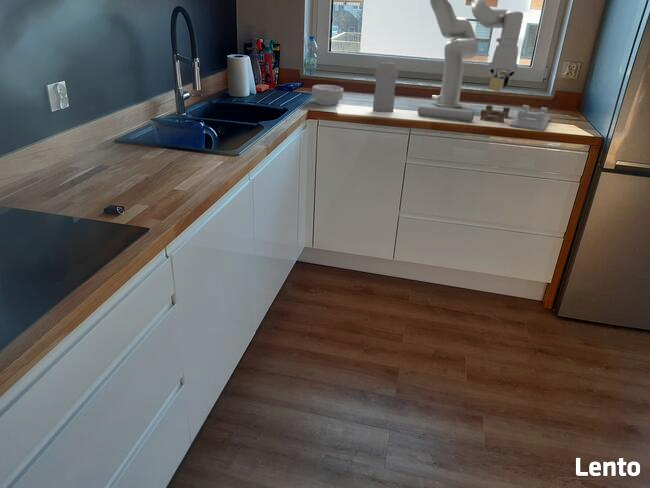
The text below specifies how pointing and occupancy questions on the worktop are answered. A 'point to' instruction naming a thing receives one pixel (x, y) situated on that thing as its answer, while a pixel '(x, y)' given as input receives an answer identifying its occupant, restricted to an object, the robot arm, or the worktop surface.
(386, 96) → the tall pale column
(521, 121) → the v block stand
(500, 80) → the tan square beam
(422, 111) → the tube
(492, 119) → the beam saddles
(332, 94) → the paper bowls
